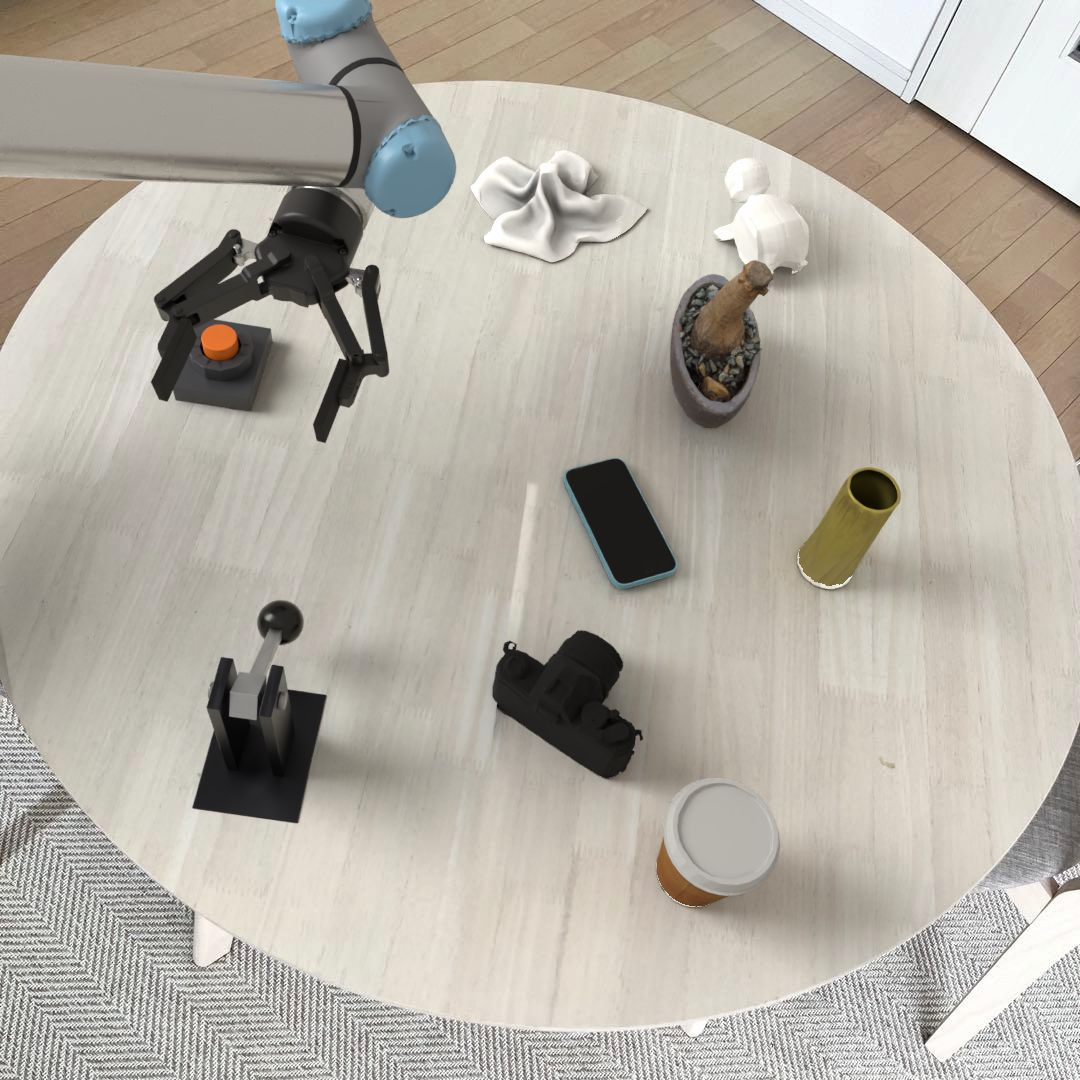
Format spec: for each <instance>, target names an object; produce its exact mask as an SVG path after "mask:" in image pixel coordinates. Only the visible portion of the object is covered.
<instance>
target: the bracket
mask: <svg viewBox="0 0 1080 1080" xmlns="http://www.w3.org/2000/svg"><path fill="white" fill-rule="evenodd" d="M234 660H235V659H234V658H231V657H224V656H221V657H220V658H219V661H218V665H217V669H216V673H215V676H214V679H213V681H211V682H210V683H209V687H208V689H207V699H208V700H207V704H206V711H207V713H208V717H209V719H210V723H211V725H212V729H213V732H212V735H211V739H210V743H209V746H208V750H207V752H206V757H205V761H204V764H203V767H202V771H201V775H200V778H199V782H198V785H197V789H196V792H195V796H194V799H193V803H192V806H191V808H192V809H193V810H199V811H207V812H214V813H220V814H228V815H235V816H242V817H248V818H249V817H250V818H256V819H263V820H270V821H277V822H284V823H291V824H298V823H299V818H300V814H301V809H302V805H303V801H304V796H305V793H306V787H307V783H308V779H309V774H310V769H311V766H312V760H313V756H314V752H315V748H316V743H317V739H318V734H319V730H320V727H321V721H322V717H323V712H324V707H325V704H326V698H327V695H326V694H323V693H316V692H309V691H304V690H303V691H302V690H295V689H288V683H287V677H286V672H285V667H284V665H278V664H271V665H270V667H269V671H268V672H269V673H268V675H267V679H266V688H265V692H264V696H263V699H262V703H261V707H260V711H259V716H258V718H257V720H251V719H244V718H237V717H230V716H229V702H230V691H231V688H232V686H233V684H234V682H235V680H236V678H237V676H238V671H237V667H236V665H235V661H234Z"/></svg>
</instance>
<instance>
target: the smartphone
mask: <svg viewBox="0 0 1080 1080" xmlns="http://www.w3.org/2000/svg"><path fill="white" fill-rule="evenodd" d="M563 484H564V487H565V489H566V491H567V493H568V495H569V497H570V499H571V501H572V503H573V505H574V508H575V509H576V511H577V513H578V515H579V517H580V520H581V522H582V524H583V527H584V528H585V530H586V532H587V534H588V536H589V539H590V541H591V543H592V545H593V547H594V549H595V551H596V553H597V555H598V557H599V559H600V562H601V564H602V565H603V567H604V570H605V572H606V574H607V576H608V578H609V581H610V582H611V584H612V585H613V586H614V587H615V588H617V589H619V590H628V589H630V588H634V587H637V586H641V585H643V584H647V583H650V582H653V581H657V580H658V581H659V580H660V579H664V578H668V577H671V576H673V575H674V574H675V573H676V571H677V568H678V561H677V558H676V556H675V554H674V552H673V550H672V549H671V546H670V544H669V543H668V541H667V539H666V537H665V535H664V533H663V531H662V530H661V528H660V525H659V524H658V522H657V520H656V518H655V515H654V514H653V512H652V510H651V508H650V507H649V505H648V503H647V500H646V499H645V497H644V495H643V492H642V491H641V489H640V487H639V485H638V483H637V481H636V479H635V477H634V476H633V474H632V471H631V470H630V468H629V465H628V464H627V463H626V460H625V461H624V459H622V458H620V457H610V458H607V459H603V460H599V461H595V462H592V463H587V464H584V465H580V466H576V467H572V468H569V469H567V470H566V471H565V472H564V475H563Z"/></svg>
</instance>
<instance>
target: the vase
mask: <svg viewBox="0 0 1080 1080" xmlns="http://www.w3.org/2000/svg"><path fill="white" fill-rule="evenodd" d="M837 492H838V493H837V494H836V495H835V497H834V499H833V500H832V502H831V504H830V505H829V507H828V509H827V511H826V512H825V514H824V515H823V516H822V518H821V520H820V521H819V523H818V525H817V526H816V528H815V529H814V530H813V532H812V533H811V534H810V536H809V537H808V538H807V540H806V541H805V542H804V543H803V544H804V545H803V544H802V545H803V546H802V545H801V546H802V547H801V546H800V547H801V548H800V547H799V549H800V551H799V557H800V558H799V564H800V565H801V567H802V568H803V572H804V573H805V574H806V575H807V576H809V577H811V579H812V580H814V582H818V583H822V584H825V585H826V586H832V585H836V584H839V585H840V584H843V583H844V582H845V581H846V580H847V579H848V578H849V577H851V576H852V575H853V576H854V574H855V572H856V570H857V568H858V566H859V565H860V564H861V562H862V560H863V559H864V557H865V555H866V554H867V552H868V551H869V549H870V548H871V546H872V544H873V543H874V542H875V540H876V539H877V537H878V535H879V534H880V532H881V531H882V529H883V528H884V526H885V524H886V523H887V522H888V520H889V519H890V517H891V516H892V514H893V513H894V511H895V510H896V509H897V507H898V506H899V505H900V503H901V500H902V493H901V489H900V486H899V484H898V482H897V481H896V479H895V477H893V476H892V475H890V474H889V473H888V472H887V471H885V470H883V469H880V468H878V467H872V466H866V467H865V466H864V467H861V468H858V469H856V470H854V471H853V472H852V473H851V474H849V476H848V477H847V478H846V480H845V481H844V482H843V484H842V485H841V487H840V489H839V491H837Z"/></svg>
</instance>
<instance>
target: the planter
mask: <svg viewBox="0 0 1080 1080" xmlns="http://www.w3.org/2000/svg"><path fill="white" fill-rule="evenodd" d="M773 280H775V278H774V274H773V275H772V273H771V271H770V269H769V268H768V267H767V265H766V264H764V263H762V262H759V261H757V260H753V261H750V262H749V263H747V264H744V265H743V269H742V271H740V272H739V273H737V274H736V275H735V276H734V277H732V279H730V280H728V279H727V278H726V277H725V276H724V275H720V274H717V273H710V274H706V275H704V276H702V277H700V278H699V279H697V280H695V281H694V283H693V284H692V285H690V286H689V287H688V288H687V289H686V291H684V293H683V295H682V296H681V299H680V300H679V303H678V306H677V307H676V310H675V313H674V317H673V322H672V326H671V327H672V328H671V334H670V335H671V336H670V348H669V364H670V376H671V378H670V379H671V384H672V388H673V392H674V395H675V398H676V400H677V402H678V404H679V406H680V407H681V409H682V411H683V412H684V414H685V415H686V416H687V417H688V419H690V420H691V421H692V422H693V423H695V424H697V425H698V426H701V427H702V428H704V429H708V430H713V429H717V428H719V427H722V426H725V424H727V423H729V422H730V421H732V419H734V418H735V417H736V416H737V415H738V414H739V413H740V412H741V410H742V408H743V407H744V406H745V405H746V402H747V401H748V399H749V397H750V395H751V393H752V391H753V389H754V386H755V383H756V380H757V377H758V373H759V370H760V362H761V350H762V347H761V337H760V331H759V324H758V321H757V319H756V317H755V314H754V311H753V310H752V309H751V307H750V306H751V305H752V304H753V302H754V301H755V300H756V298H758V296H759V295H760V296H762V297H765V296H766V295H767V294H768V292H769V291H770V290H769V288H768V287H769V285H770V284H771V282H772V281H773ZM695 383H698V384H697V385H696V384H695Z"/></svg>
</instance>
